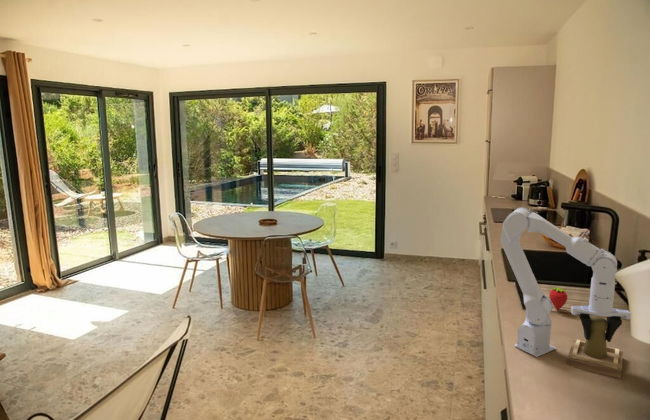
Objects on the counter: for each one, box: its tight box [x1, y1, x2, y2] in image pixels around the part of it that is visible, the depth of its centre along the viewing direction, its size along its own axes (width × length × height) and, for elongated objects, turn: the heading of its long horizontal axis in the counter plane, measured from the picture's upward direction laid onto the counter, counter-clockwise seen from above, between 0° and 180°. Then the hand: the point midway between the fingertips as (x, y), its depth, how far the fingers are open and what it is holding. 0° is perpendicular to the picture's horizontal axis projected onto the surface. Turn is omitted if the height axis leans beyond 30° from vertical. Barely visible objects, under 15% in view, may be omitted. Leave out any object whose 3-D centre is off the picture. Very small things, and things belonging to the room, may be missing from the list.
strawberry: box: [548, 286, 568, 311], centre depth 164 cm, size 6×8×10 cm
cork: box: [583, 316, 608, 359], centre depth 128 cm, size 6×6×11 cm
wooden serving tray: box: [566, 339, 624, 379], centre depth 128 cm, size 13×13×3 cm
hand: (597, 339), depth 127 cm, fingers closed on cork, 5 cm apart
